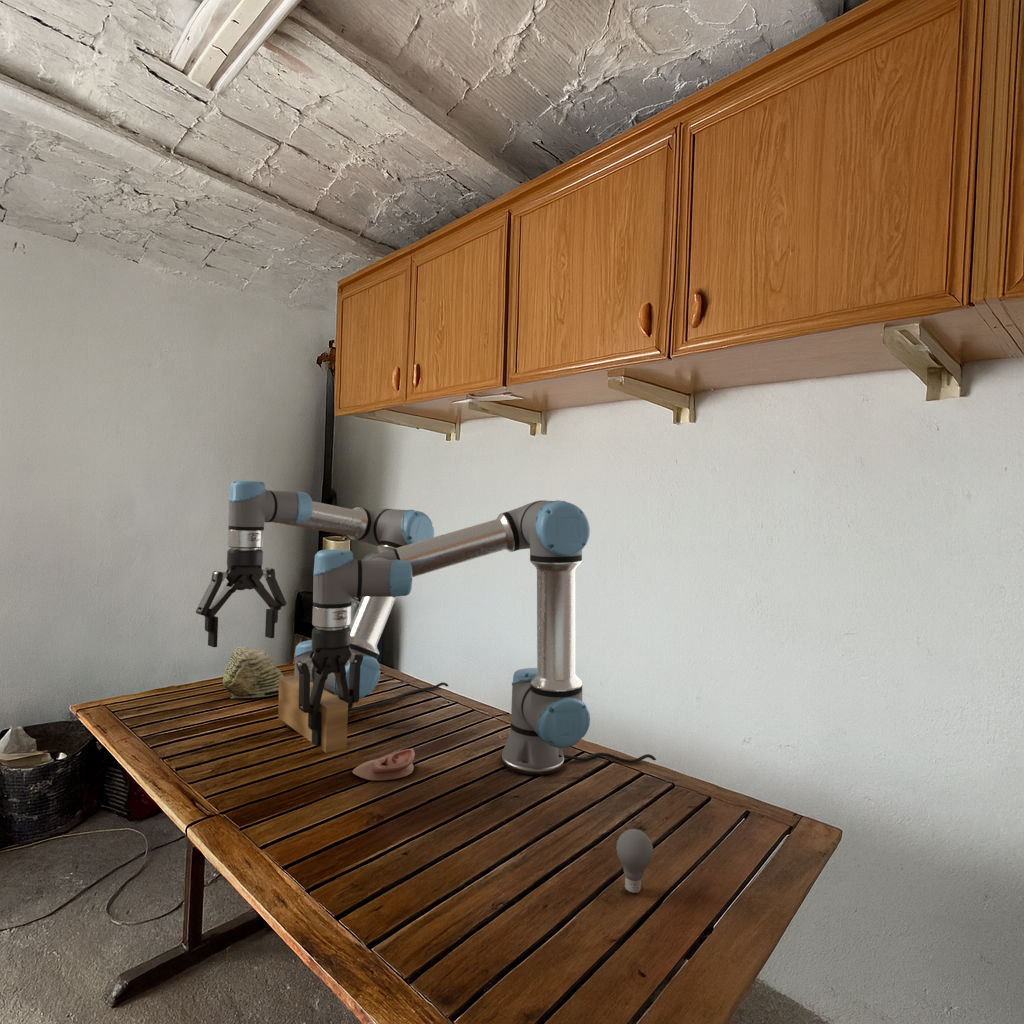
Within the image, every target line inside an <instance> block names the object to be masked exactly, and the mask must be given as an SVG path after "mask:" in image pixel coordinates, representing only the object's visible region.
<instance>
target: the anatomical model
mask: <svg viewBox="0 0 1024 1024" xmlns="http://www.w3.org/2000/svg"><path fill="white" fill-rule="evenodd" d="M415 755H416V753H415V750H414V749H413V748H405V749H401V750H398V751H396V752H392V753H390V754H387V755H384V756H381V757H378V758H376V759H371V760H368V761H365V762H362V763H361V764H359V765H358V766H356V767H355V768H353V770H352V774H353V775H354V776H357V777H359V778H361V779H364V780H367V781H372V782H373V781H388V780H390V781H391V780H397V779H400V778H404V777H407V776H409V775H410V774H412V773H413V771H414V763H413V762H414V760H415Z"/></svg>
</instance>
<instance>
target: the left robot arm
mask: <svg viewBox="0 0 1024 1024" xmlns="http://www.w3.org/2000/svg"><path fill="white" fill-rule="evenodd" d="M229 486H230V487H229V492H228V527H227V545H226V546H227V547H228V548H229V549H227V551H226V566H227V567H226V571H219V570H213V571H212V574H211V580H210V582H209V584H208V586H207V588H206V590H205V592H204V594H203V596H202V598H201V600H200V603H199V604H198V606H197V608H196V610H195V613H196V614H197V615H200V616H203V617H204V631H205V632H206V633H207V646H209V647H211V648H218V638H219V637H218V634H219V617H218V616H216V615H217V614H218V613H219V611H220V610H221V609H222V607H223V606H224V605H225V604H226V602H227V601H228V600H229V599H230V597H231V596H232V595H233V594H234V593H235V592H237V591H244V590H255V592H256V593H257V594H258V595H259V597H260V598H261V600H263V601H264V603H265V604H266V605H267V607H268V608H266V609H265V627H264V629H265V630H264V631H265V632H264V637H265V638H268V639H275V629H276V624H277V623H278V621H279V611H280V610H281V609H282V607H286V606H287V601H286V598H285V596H284V594H283V591H282V590H281V587H280V585H279V583H278V579H277V578H276V570H275V568H272V567H266V568H264V569H263V568H262V567H263V564H264V551H263V549H262V548H263V547H264V533H265V532H264V531H265V523H274V524H280V525H287V526H291V527H292V526H293V527H298V528H304V529H311V530H315V531H321V532H327V533H332V534H339V535H345V536H347V537H348V538H349V539H350V540H353V541H359V542H363V543H367V544H370V545H373V546H375V547H377V549H378V550H377V551H378V553H381V552H385V551H388V550H392V549H395V548H398V547H402V546H405V545H409V544H412V543H416V542H419V541H423V540H426V539H430V538H433V537H435V528H434V526H433V521H432V519H431V517H430V516H429V515H427V514H426V513H424V512H423V511H420V510H415V509H397V508H395V509H394V508H367V507H366V508H365V507H359V506H356V507H354V508H349V507H342V506H337V505H334V504H328V503H323V502H320V501H319V502H318V501H314V500H313V499H312V497H311V496H310V495H309V493H308V492H305V491H297V490H269V489H267V486H266V483H265V482H264V481H257V480H256V481H255V480H233V481H232V482H231V483H230V485H229ZM262 577H263V578H265V581H266V583H267V586H268V588H269V590H270V592H269V591H268V590H267V589H266V588H265V585H264V583H262V581H261V579H262ZM225 579H226V580H227V582H226V583H225V585H224V586H223V587H222V589H221V590H220V588H221V585H222V583H223V582H224V581H225ZM219 590H220V592H219ZM218 592H219V593H218ZM270 593H271V594H270ZM217 594H218V595H217ZM396 599H397V596H396V597H361V599H360V602H359V604H358V607H357V608H356V612H355V614H354V617H353V618H352V620H351V624H350V625H349V627H350V628H351V642H350V649H351V651H352V652H353V653H355V652H356V653H359V654H361V655H363V660H362V663H361V666H360V690H359V700H361V699H364V697H366V696H369V695H370V694H371V693H372V692H373V691H374V690H375V688H376V687H377V685H378V684H379V682H380V677H381V670H380V669H381V665H380V663H379V661H378V659H379V656H380V651H379V649H378V644H379V642H380V638H381V637H382V634H383V632H384V629H385V626H386V624H387V621H388V619H389V616H390V614H391V611H392V609H393V606H394V604H395V601H396ZM311 652H312V639H308V640H304V641H300V642H299V643H297V645H296V646H295V650H294V655H293V657H294V672H293V673H294V674H293V676H294V675H299V671H298V668H297V665H296V663H297V662H298V661H304V660H306V659H308V658H309V657H310V654H311ZM349 669H350V661H349V660H348V662H347V663H346V665H345V670H346V680H347V685H348V690H349ZM315 670H316V667H315V666H314V665H313V664H311V670H309V672H310V682H312V683H314V679H315V675H314V674H315ZM432 686H433V687H432ZM432 686H428V687H427V686H426V687H422V688H417V689H413V690H409V691H407V692H403V693H401V694H399V695H395V696H393V697H391V698H389V699H385V700H383V701H379V702H375V703H371V704H366V705H360V706H352V708H350V712H352V711H360V710H365V709H371V708H375V707H379V706H383V705H386V704H390V703H391V702H393V701H395V700H398V699H401V698H403V697H406V696H409V695H412V694H415V693H420V692H424V691H430V690H435V689H437V688H439V687H441V686H445V687H449V684H448V683H447V682H440V683H437V684H436V685H432ZM324 690H326V691H327V692H329V693H331V694H333V695H334V696H336V697H338V698H339V693H338V688H337V683H336V678H335V674H334V673H330V674H328V678H327V680H326V681H325V685H324ZM285 726H286V728H287V729H289V730H291V731H294V732H295V731H296V730H294V729H293V728H292V727H290V726H289V725H288V724H286V723H285ZM296 732H297V731H296Z"/></svg>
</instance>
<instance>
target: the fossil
mask: <svg viewBox="0 0 1024 1024" xmlns="http://www.w3.org/2000/svg"><path fill="white" fill-rule="evenodd" d="M222 676H223V677H222V685H223V687H224V688H225V690H226V691H228V693H229V698H230V699H250V698H264V697H271V696H275V695H279V678H282V677H285V676H284V674H283V673H282V672H281V669H279V668H278V667H277V665H276V663H275V662H274V660H273V659H272V658H271V657H270V656H269V655H268V654H267V653H266V652H265V650H264V649H263V648H260V647H258V648H251V647H247V646H246V647H245V646H238V647H237V648H236V649H235V650H233V651H232V653H231V656H230V657H229V659H228V660H227V663H226V666H225V668H224V671H223V675H222Z"/></svg>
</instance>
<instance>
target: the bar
mask: <svg viewBox="0 0 1024 1024" xmlns="http://www.w3.org/2000/svg"><path fill="white" fill-rule="evenodd" d="M312 687H313V683H312V682H310V695H311V691H312ZM277 710H278V711H277V718H278V719H279V720H281V721H282V722H283V723H285V725H286V724H288V725H289V726H290V727H292V728H293V729H294V730H293V731H295V730H296V732H297V733H298V734H300V735H301V736H302V737H303V738H305V739H306V740H307V741H308V742H310V743H312V730H311V729H309V727H308V713H305V712H303V711H302V710H300V709H299V675H294V674H293V675H288V676H284V677H282V678H279V694H278V709H277ZM318 712H320V713H321V714H322V721H321V746H320V747H317V748H318V749H320V750H321V751H323V752H324V753H325V754H327V753H331V752H337V751H340V750H343V749H347V748H348V726H349V725H348V724H349V722H348V703H346V702H345V701H343V700H341V699H340V698H339V696H338V697H336V696H334V695H333V694H331V693H329V692H327V691H326V690H324V689H323V693H322V697H321V702H320V706H319V710H318Z"/></svg>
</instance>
